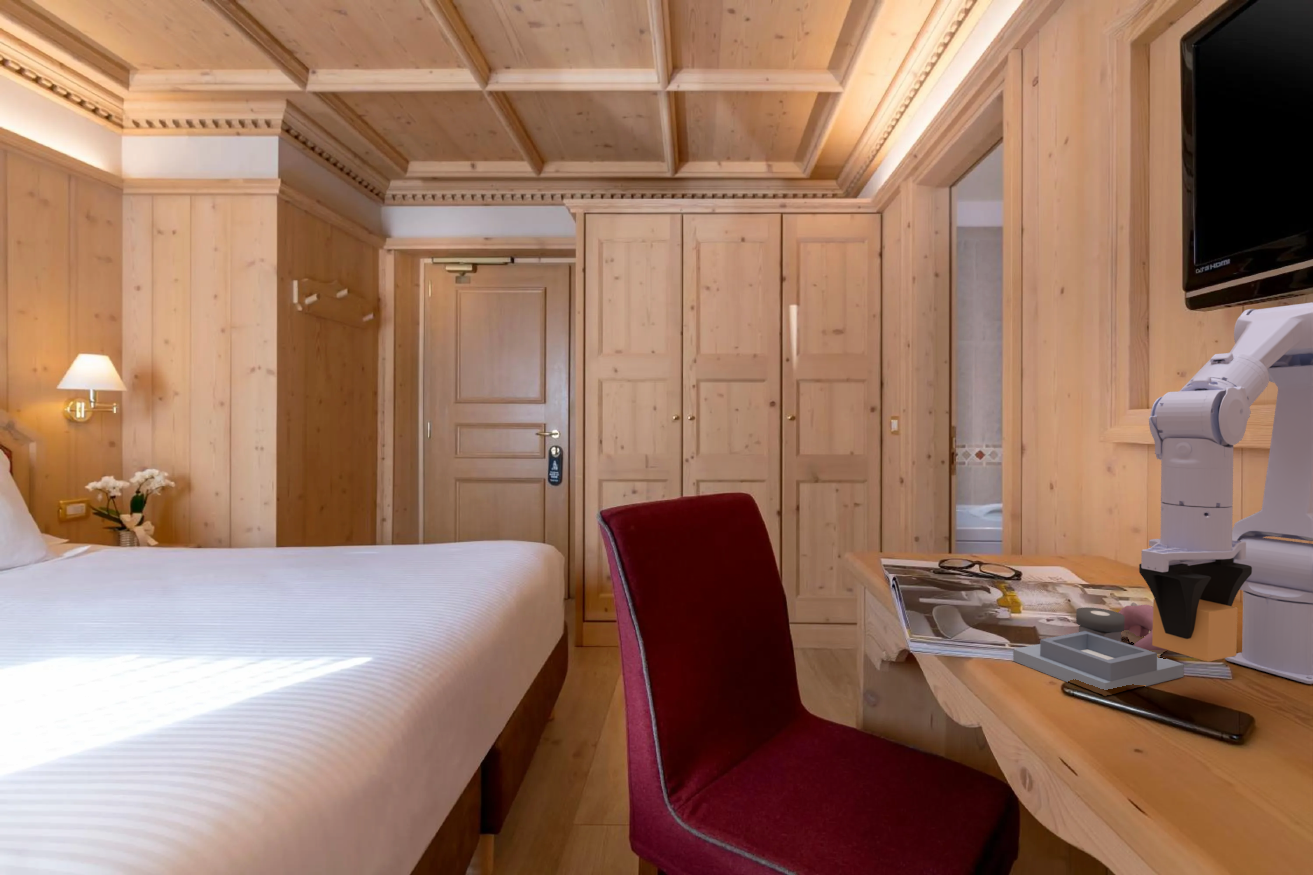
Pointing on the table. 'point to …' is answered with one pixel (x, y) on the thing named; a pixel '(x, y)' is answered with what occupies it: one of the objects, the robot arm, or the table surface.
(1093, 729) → the table surface
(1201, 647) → the orange cube
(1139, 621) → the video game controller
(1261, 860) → the table surface
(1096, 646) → the chassis
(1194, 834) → the table surface
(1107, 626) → the wheel
